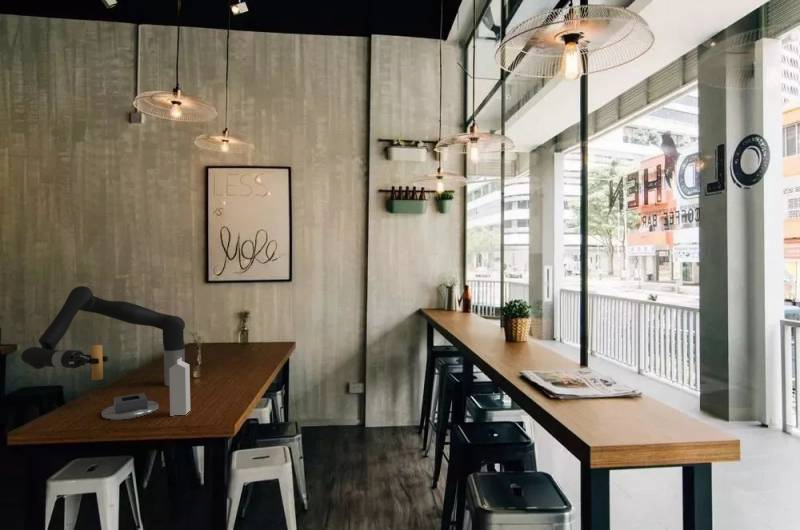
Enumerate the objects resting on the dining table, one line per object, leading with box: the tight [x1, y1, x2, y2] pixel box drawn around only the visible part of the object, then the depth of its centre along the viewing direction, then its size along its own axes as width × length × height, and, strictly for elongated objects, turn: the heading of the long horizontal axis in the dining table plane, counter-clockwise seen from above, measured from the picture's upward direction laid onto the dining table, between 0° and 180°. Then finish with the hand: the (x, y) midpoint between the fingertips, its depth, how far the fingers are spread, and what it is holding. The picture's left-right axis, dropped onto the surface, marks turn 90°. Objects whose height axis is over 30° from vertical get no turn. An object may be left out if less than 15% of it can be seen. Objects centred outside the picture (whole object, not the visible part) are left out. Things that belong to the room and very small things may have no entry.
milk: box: [169, 357, 191, 417], centre depth 188 cm, size 6×6×22 cm
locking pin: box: [90, 344, 104, 381], centre depth 199 cm, size 4×4×14 cm
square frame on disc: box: [101, 392, 159, 421], centre depth 192 cm, size 20×20×6 cm
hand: (102, 360), depth 198 cm, fingers closed on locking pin, 4 cm apart
